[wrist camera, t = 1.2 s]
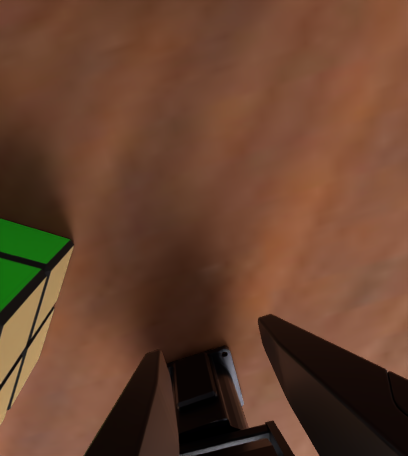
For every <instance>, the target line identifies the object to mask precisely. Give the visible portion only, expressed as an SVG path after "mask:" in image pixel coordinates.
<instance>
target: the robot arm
mask: <svg viewBox="0 0 408 456" xmlns="http://www.w3.org/2000/svg"><path fill="white" fill-rule="evenodd" d="M258 325H259V330H260V334H261V339H262V343H263V346H264V349H265V351H266V354H267V356H268V358H269V360H270V363H271V365H272V367H273V369H274V372H275V374H276V376H277V378H278V380H279V383H280V385H281V387H282V389H283V392H284V394H285V396H286V398H287V400H288V402H289V404H290V406H291V407H292V409H293V411H294V413H295V415H296V416H297V418H298V420H299V421H300V423H301V425H302V427H303V428H304V430H305V432H306V433H307V435H308V437H309V439H310V440H311V442H312V444H313V445H314V447H315V449H316V451H317V452H318V454H319V456H408V379H406V378H403V377H401V376H399V375H397V374H395V373H393V372H391V371H389V372H387V370H386V369H384V368H382V367H380V366H378V365H376V364H374V363H372V362H370V361H368V360H366V359H364V358H362V357H360V356H358V355H355V354H353V353H351V352H349V351H347V350H345V349H343V348H341V347H339V346H337V345H335V344H333V343H331V342H328V341H326V340H324V339H322V338H320V337H318V336H316V335H314V334H312V333H310V332H308V331H306V330H304V329H301V328H299V327H297V326H295V325H293V324H291V323H289V322H287V321H285V320H283V319H281V318H279V317H277V316H275V315H272V314H268V315H265V316H262V317H259V318H258ZM223 352H226V353H224V354H222V353H223ZM243 404H244V402H243V399H242V395H241V391H240V387H239V383H238V380H237V376H236V372H235V368H234V364H233V361H232V357H231V353H230V350H229V348H228V347H227V346H221V347H218V348H215V349H212V350H209V351H206V352H203V353H200V354H197V355H194V356H190V357H187V358H184V359H181V360H178V361H175V362H172V363H169V364H166V362H165V359H164V356H163V354H162V351H161V350H155V351H152V352H149V353H147V354H145V356H144V357H143V359H142V361H141V362H140V364H139V366H138V367H137V369H136V371H135V372H134V374H133V375H132V377H131V379H130V380H129V382H128V384H127V385H126V387H125V389H124V390H123V392H122V394H121V395H120V397H119V398H118V400H117V402H116V403H115V405H114V407H113V408H112V410H111V412H110V413H109V415H108V417H107V418H106V420H105V421H104V423H103V425H102V426H101V428H100V430H99V431H98V433H97V435H96V436H95V438H94V439H93V441H92V443H91V444H90V446H89V448H88V449H87V451H86V453H85V454H84V456H295V455H294V454H293V452H292V451H291V449H290V447H289V446H288V444H287V442H286V441H285V439H284V437H283V436H282V434H281V432H280V431H279V429H278V428H277V426H276V424H275V423H274V421H269V422H265V424H264V425H259V426H255V427H251V428H249V427H248V424H247V421H246V418H245V415H244V412H243V409H242V406H243Z"/></svg>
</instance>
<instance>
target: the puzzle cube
mask: <svg viewBox="0 0 408 456" xmlns="http://www.w3.org/2000/svg"><path fill="white" fill-rule="evenodd" d="M73 247H74V244H73V243H72V241H71V239H67V238H64V237H61V236H57V235H54V234H51V233H47V232H44V231H41V230H37V229H34V228H31V227H27V226H24V225H21V224H17V223H14V222H10V221H7V220H4V219H0V425H1V423H2V422H3V420H4V417H5V414H6V411H7V410H9V409H10V408H11V407H12V405H13V403H14V401H15V399H16V398H17V396H18V394H19V392H20V391H21V389H22V387H23V385H24V384H25V382H26V380H27V378H28V377H29V375H30V373H31V371H32V370H33V368H34V366H35V364H36V363H37V361H38V359H39V357H40V354H41V350H42V347H43V344H44V341H45V338H46V334H47V331H48V328H49V325H50V321H51V318H52V315H53V312H54V307H53V305H54V304H55V302H56V301H57V299H58V296H59V292H60V289H61V286H62V283H63V279H64V276H65V273H66V270H67V266H68V263H69V260H70V257H71V254H72V250H73Z"/></svg>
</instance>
